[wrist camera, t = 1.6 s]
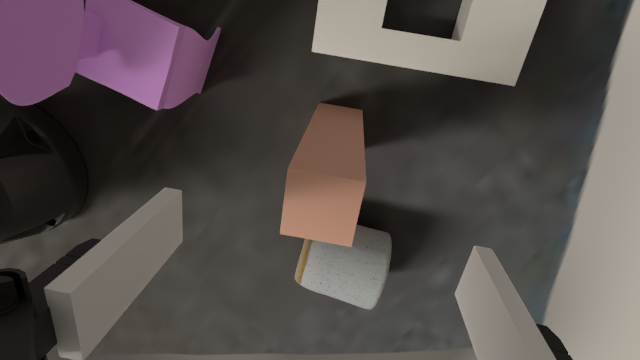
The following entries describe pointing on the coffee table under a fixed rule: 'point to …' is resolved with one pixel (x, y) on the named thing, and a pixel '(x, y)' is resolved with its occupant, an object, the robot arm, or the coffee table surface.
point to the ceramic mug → (347, 267)
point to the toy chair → (99, 51)
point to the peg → (326, 178)
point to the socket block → (434, 38)
